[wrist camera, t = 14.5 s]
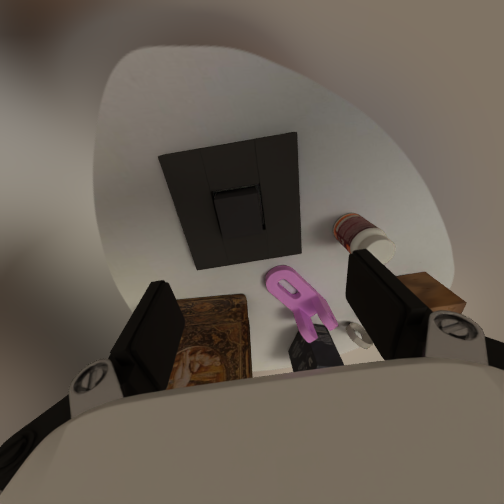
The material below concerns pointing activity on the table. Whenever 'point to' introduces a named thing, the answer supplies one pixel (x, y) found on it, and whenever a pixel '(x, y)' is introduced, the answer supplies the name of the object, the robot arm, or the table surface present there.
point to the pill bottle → (363, 237)
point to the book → (213, 342)
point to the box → (314, 352)
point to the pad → (238, 212)
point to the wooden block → (432, 292)
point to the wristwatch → (363, 342)
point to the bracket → (300, 301)
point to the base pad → (231, 176)
